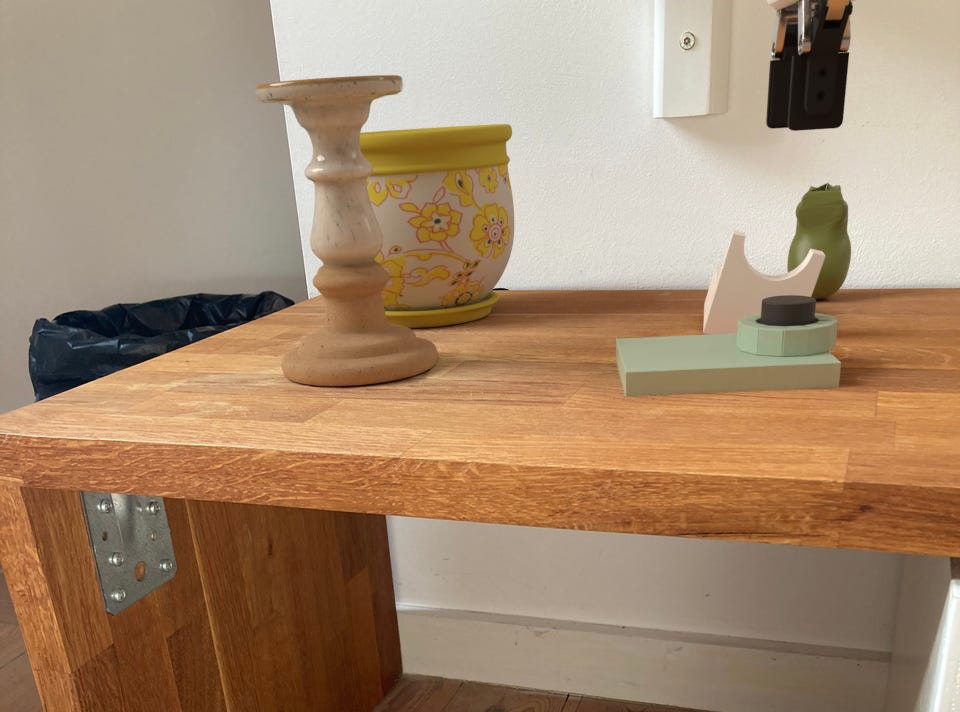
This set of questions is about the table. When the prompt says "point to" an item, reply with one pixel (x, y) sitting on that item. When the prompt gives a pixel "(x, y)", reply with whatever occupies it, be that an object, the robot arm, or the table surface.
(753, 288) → the bracket
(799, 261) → the olive green rounded piece
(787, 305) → the button
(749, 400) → the table surface
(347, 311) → the candle holder
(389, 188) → the flowerpot
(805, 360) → the green base plate
